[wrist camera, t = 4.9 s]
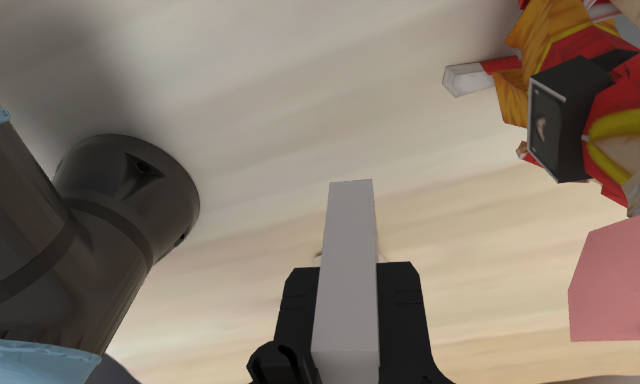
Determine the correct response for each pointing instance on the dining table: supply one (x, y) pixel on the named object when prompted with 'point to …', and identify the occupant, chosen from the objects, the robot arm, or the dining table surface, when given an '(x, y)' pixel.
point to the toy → (579, 138)
